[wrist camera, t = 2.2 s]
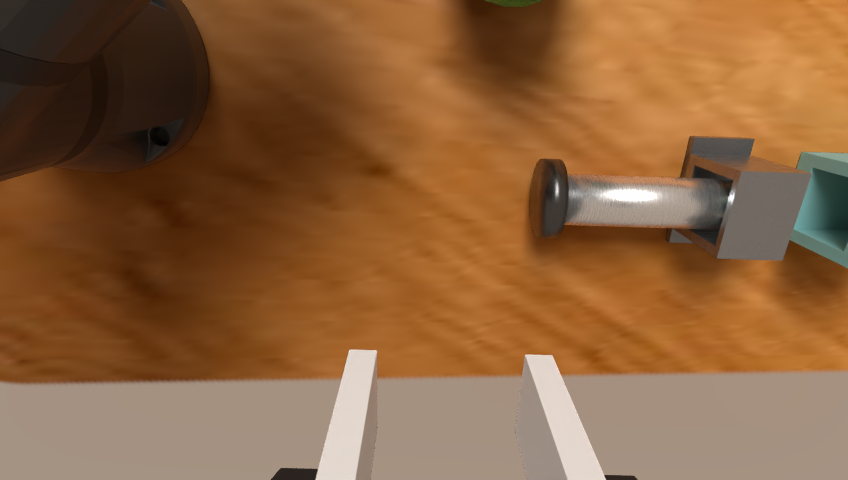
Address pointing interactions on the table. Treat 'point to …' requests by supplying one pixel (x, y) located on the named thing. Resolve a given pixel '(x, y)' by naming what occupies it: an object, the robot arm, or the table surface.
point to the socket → (824, 206)
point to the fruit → (514, 2)
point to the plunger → (622, 201)
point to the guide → (744, 200)
